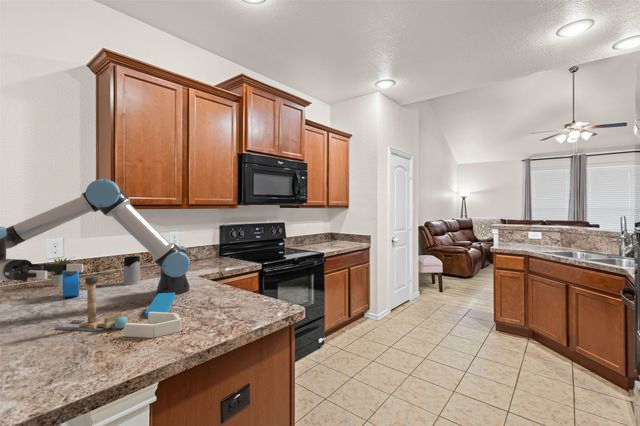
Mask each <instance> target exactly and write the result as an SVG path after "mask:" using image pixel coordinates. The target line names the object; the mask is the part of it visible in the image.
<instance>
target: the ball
mask: <svg viewBox="0 0 640 426" xmlns="http://www.w3.org/2000/svg"><path fill="white" fill-rule="evenodd" d="M126 323H129V320H128V318H127V317H126V316H122V317H119V318H117V319H116V320H115V323H114V327H115V328H116V329H119V330H120V329H121V330H122V329H125V324H126Z"/></svg>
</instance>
